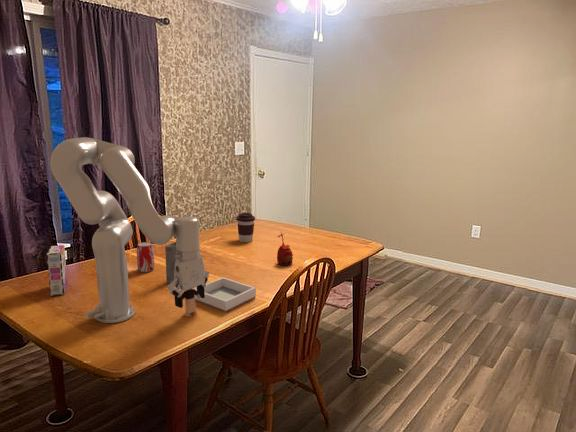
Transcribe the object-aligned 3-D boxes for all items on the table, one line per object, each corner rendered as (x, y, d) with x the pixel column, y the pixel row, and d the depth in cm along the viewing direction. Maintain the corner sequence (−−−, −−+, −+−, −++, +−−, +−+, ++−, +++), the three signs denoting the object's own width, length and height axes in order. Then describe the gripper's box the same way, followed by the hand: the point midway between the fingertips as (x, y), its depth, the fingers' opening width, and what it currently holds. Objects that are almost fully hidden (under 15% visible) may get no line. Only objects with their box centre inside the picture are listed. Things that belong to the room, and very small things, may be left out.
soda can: (149, 273, 185) (148, 247, 182) (134, 272, 186) (132, 245, 183) (157, 268, 192) (156, 242, 189) (143, 266, 193) (141, 241, 190)
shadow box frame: (226, 312, 151) (226, 301, 150) (192, 299, 161) (192, 289, 160) (255, 297, 164) (255, 287, 163) (223, 286, 173) (223, 277, 172)
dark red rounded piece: (282, 267, 197) (283, 235, 194) (273, 263, 202) (273, 232, 199) (295, 264, 202) (296, 233, 198) (285, 260, 207) (286, 229, 204)
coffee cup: (235, 238, 239) (234, 212, 236) (252, 237, 242) (252, 211, 239) (238, 244, 230) (238, 216, 227) (256, 242, 233) (256, 215, 230)
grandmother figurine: (195, 309, 153) (194, 275, 150) (202, 312, 151) (201, 278, 148) (177, 316, 147) (175, 281, 144) (184, 320, 145) (182, 284, 142)
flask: (195, 274, 186) (194, 233, 182) (172, 285, 173) (170, 242, 169) (188, 272, 187) (187, 232, 183) (165, 283, 175) (163, 240, 171)
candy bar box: (65, 295, 162) (61, 253, 158) (50, 296, 160) (45, 254, 156) (68, 284, 172) (64, 244, 168) (54, 285, 170) (50, 245, 166)
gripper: (175, 263, 135) (177, 313, 139) (215, 250, 149) (216, 296, 152) (159, 258, 139) (162, 307, 143) (199, 245, 153) (201, 291, 157)
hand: (190, 301), depth 148 cm, fingers open, 9 cm apart
